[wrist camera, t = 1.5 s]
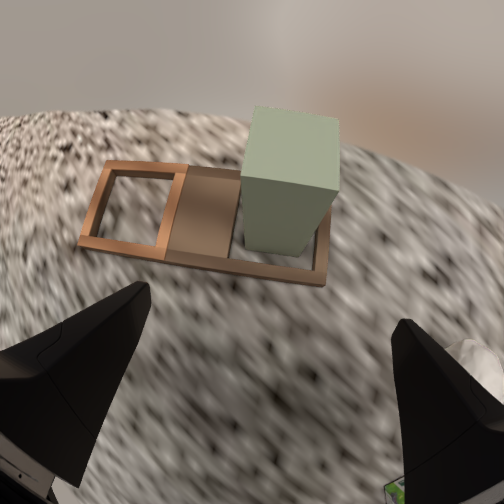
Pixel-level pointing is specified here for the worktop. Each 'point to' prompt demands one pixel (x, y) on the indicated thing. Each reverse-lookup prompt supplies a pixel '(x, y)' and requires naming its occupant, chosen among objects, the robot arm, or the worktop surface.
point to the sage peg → (288, 178)
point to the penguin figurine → (480, 365)
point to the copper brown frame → (196, 223)
